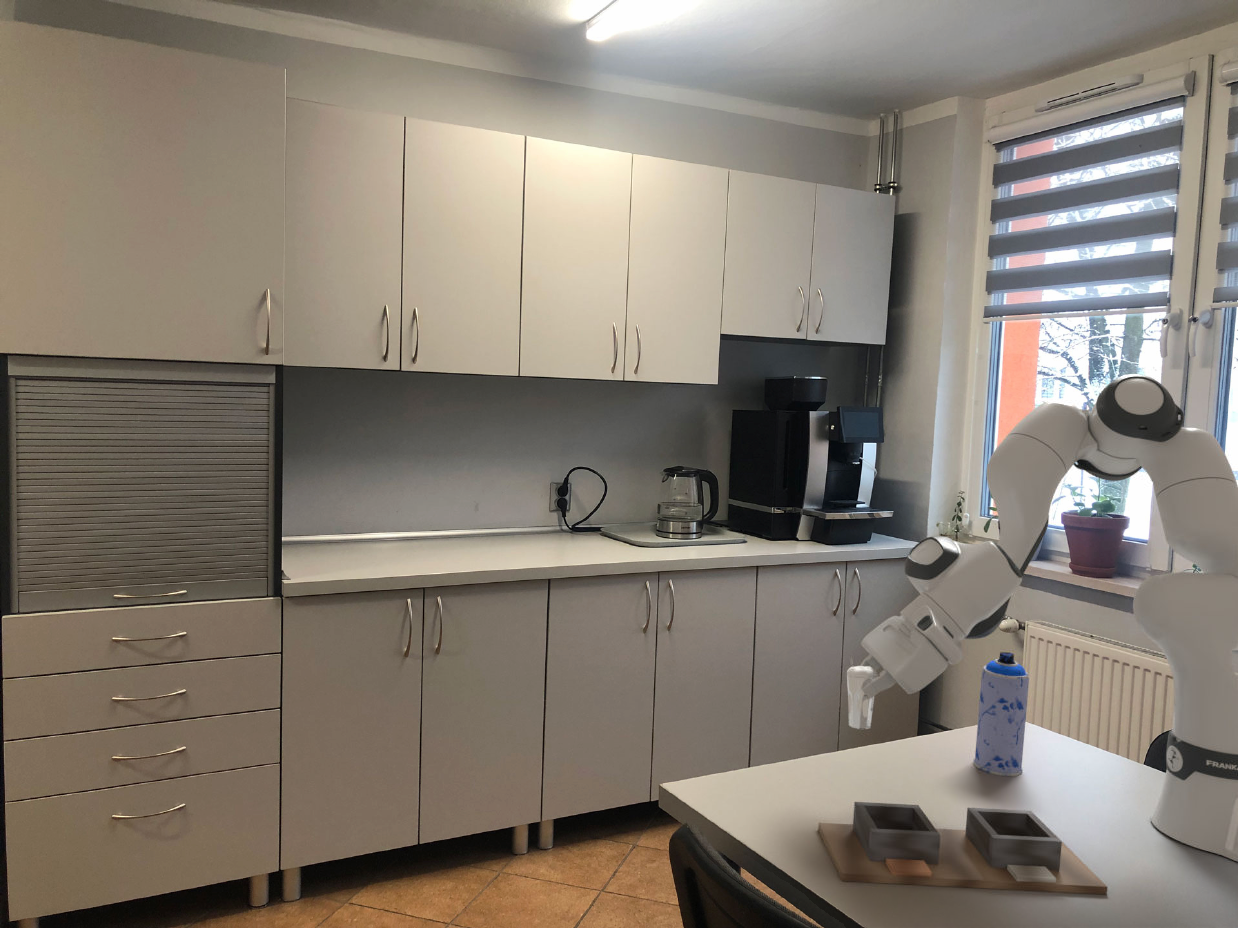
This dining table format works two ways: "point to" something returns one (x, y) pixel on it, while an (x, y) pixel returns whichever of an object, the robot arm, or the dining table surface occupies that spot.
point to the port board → (955, 851)
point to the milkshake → (859, 696)
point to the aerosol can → (1002, 717)
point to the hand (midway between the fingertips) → (859, 687)
